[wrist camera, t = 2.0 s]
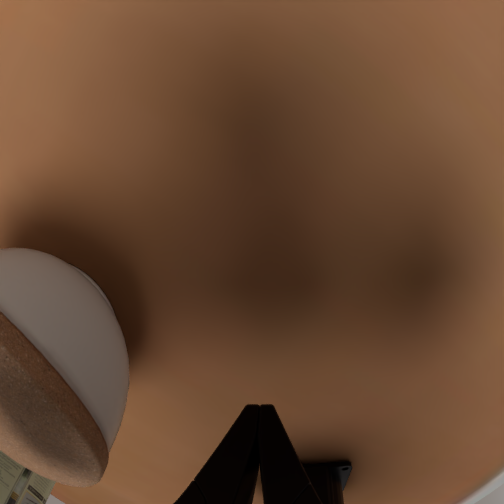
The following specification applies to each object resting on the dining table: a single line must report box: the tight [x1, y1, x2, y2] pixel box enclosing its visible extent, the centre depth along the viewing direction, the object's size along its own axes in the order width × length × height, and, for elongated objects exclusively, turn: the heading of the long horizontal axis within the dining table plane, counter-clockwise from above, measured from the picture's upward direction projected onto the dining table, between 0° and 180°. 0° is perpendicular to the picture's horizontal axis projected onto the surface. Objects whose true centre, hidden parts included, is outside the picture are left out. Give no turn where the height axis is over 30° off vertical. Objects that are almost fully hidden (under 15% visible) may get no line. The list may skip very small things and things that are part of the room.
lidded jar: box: [0, 248, 130, 487], centre depth 11 cm, size 11×11×9 cm
